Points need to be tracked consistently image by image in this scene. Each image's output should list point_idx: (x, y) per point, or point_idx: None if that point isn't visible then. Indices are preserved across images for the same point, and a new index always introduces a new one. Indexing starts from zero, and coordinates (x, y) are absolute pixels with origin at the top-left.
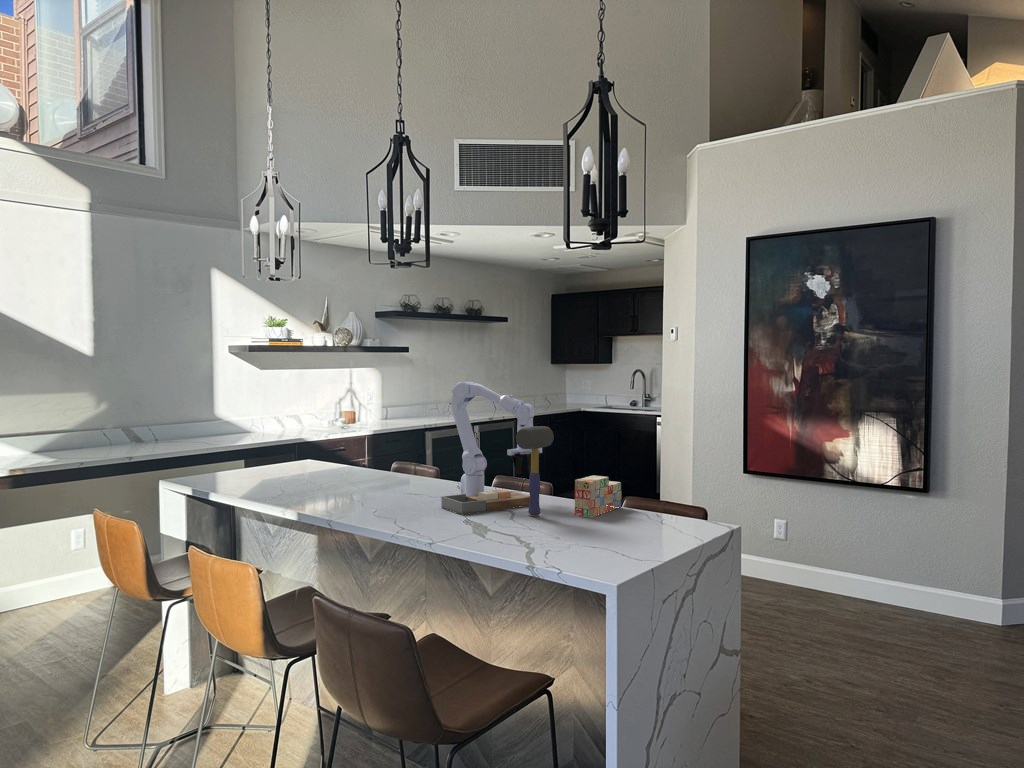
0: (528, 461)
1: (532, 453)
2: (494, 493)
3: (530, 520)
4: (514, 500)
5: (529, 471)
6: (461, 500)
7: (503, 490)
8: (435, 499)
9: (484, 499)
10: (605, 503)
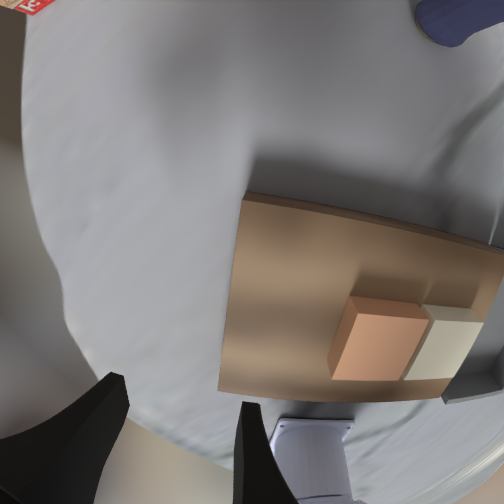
0: (95, 478)
1: None
2: (451, 320)
3: None
4: (389, 226)
5: (123, 405)
6: (453, 383)
7: (359, 356)
8: (395, 452)
9: None
10: None
